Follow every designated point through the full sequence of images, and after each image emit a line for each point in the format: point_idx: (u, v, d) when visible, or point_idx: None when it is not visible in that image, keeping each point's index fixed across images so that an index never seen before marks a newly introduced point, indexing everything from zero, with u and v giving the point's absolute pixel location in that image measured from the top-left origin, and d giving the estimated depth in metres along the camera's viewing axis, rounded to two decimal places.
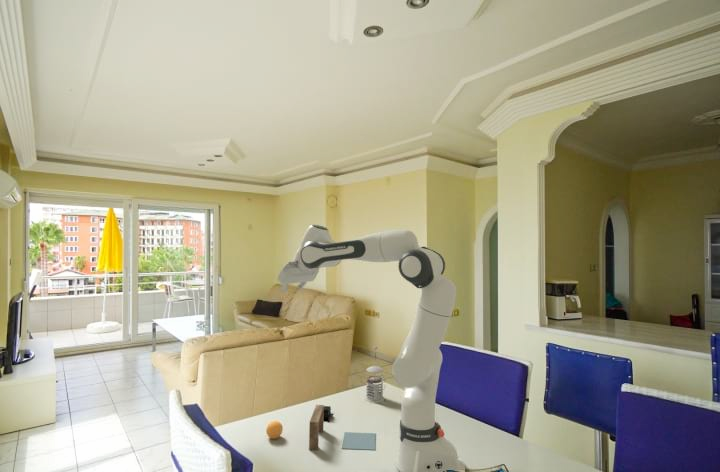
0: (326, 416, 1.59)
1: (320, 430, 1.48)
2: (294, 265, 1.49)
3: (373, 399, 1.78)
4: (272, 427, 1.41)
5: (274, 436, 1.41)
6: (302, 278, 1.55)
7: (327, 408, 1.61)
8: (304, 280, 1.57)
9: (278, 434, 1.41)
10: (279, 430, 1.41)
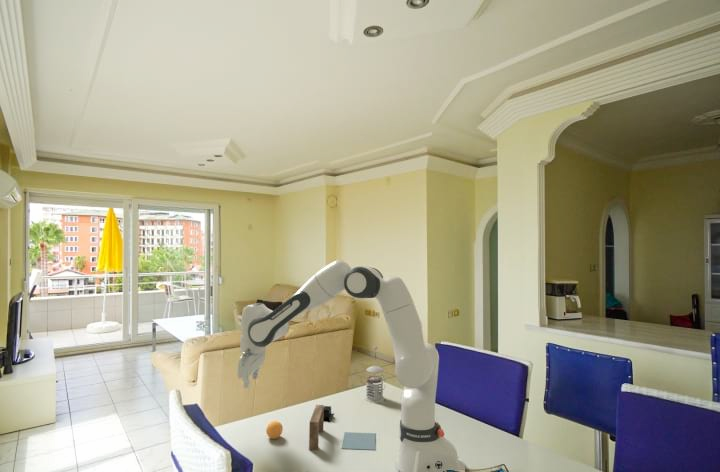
0: (327, 416, 1.59)
1: (320, 430, 1.48)
2: (248, 354, 1.39)
3: (373, 399, 1.78)
4: (272, 427, 1.41)
5: (274, 436, 1.41)
6: (257, 363, 1.46)
7: (328, 408, 1.61)
8: (258, 365, 1.48)
9: (278, 434, 1.41)
10: (279, 430, 1.41)
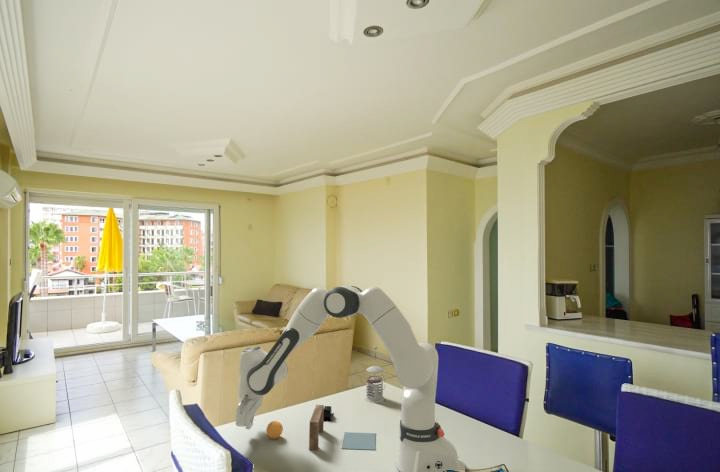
0: (328, 416, 1.59)
1: (320, 430, 1.48)
2: (246, 400, 1.39)
3: (373, 399, 1.78)
4: (272, 427, 1.41)
5: (274, 436, 1.41)
6: (255, 407, 1.45)
7: (328, 408, 1.61)
8: (256, 409, 1.47)
9: (278, 434, 1.41)
10: (279, 430, 1.41)
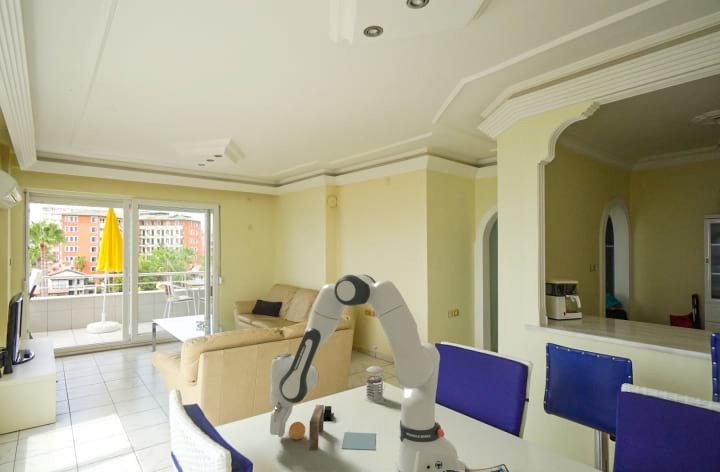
0: (328, 416, 1.59)
1: (320, 430, 1.48)
2: (279, 408, 1.38)
3: (373, 399, 1.78)
4: (298, 438, 1.40)
5: (292, 431, 1.40)
6: (287, 415, 1.44)
7: (329, 408, 1.61)
8: (288, 416, 1.46)
9: (290, 433, 1.41)
10: (291, 436, 1.41)
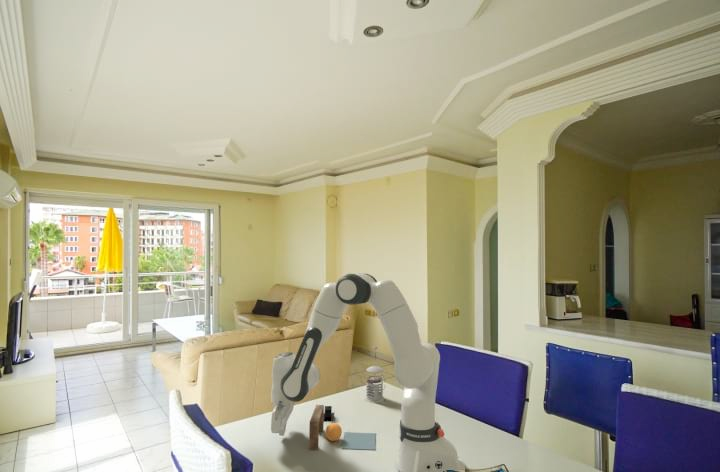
0: (329, 416, 1.59)
1: (320, 430, 1.48)
2: (280, 406, 1.38)
3: (373, 399, 1.78)
4: (336, 431, 1.40)
5: (330, 438, 1.40)
6: (288, 413, 1.44)
7: (329, 408, 1.61)
8: (289, 415, 1.46)
9: (334, 440, 1.40)
10: (337, 438, 1.40)
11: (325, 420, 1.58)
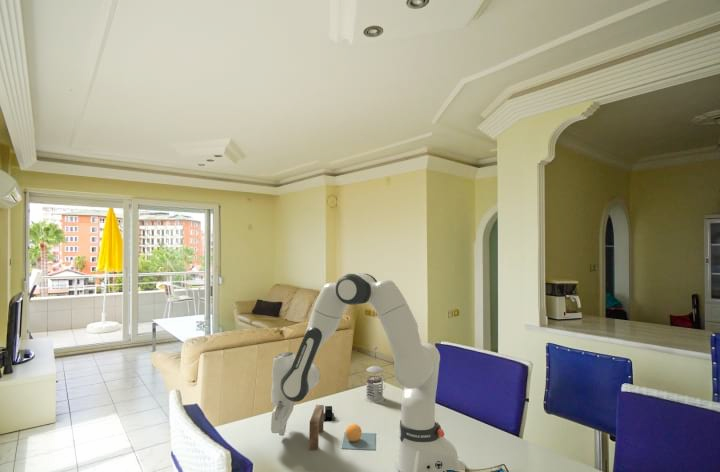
0: (330, 416, 1.60)
1: (320, 430, 1.48)
2: (280, 406, 1.38)
3: (373, 399, 1.78)
4: (352, 440, 1.40)
5: (352, 432, 1.39)
6: (288, 413, 1.44)
7: (330, 408, 1.61)
8: (289, 415, 1.46)
9: (348, 431, 1.40)
10: (346, 433, 1.40)
11: (326, 420, 1.58)
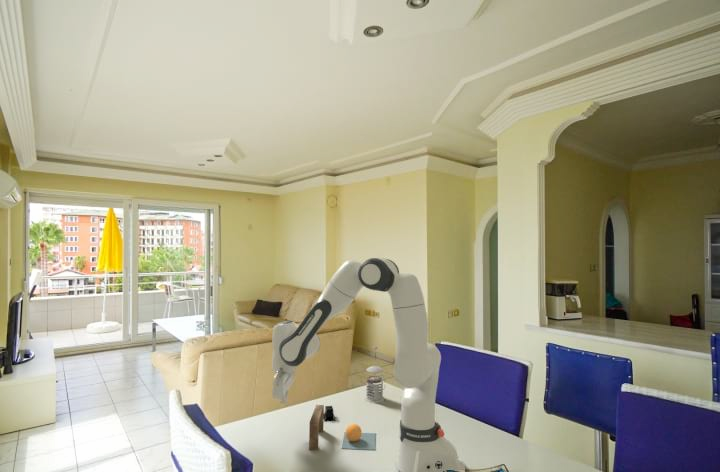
0: (331, 415, 1.60)
1: (320, 430, 1.48)
2: (281, 373, 1.38)
3: (373, 399, 1.78)
4: (352, 440, 1.40)
5: (352, 432, 1.39)
6: (289, 381, 1.45)
7: (330, 408, 1.61)
8: (290, 383, 1.46)
9: (348, 431, 1.40)
10: (346, 433, 1.40)
11: (327, 420, 1.58)
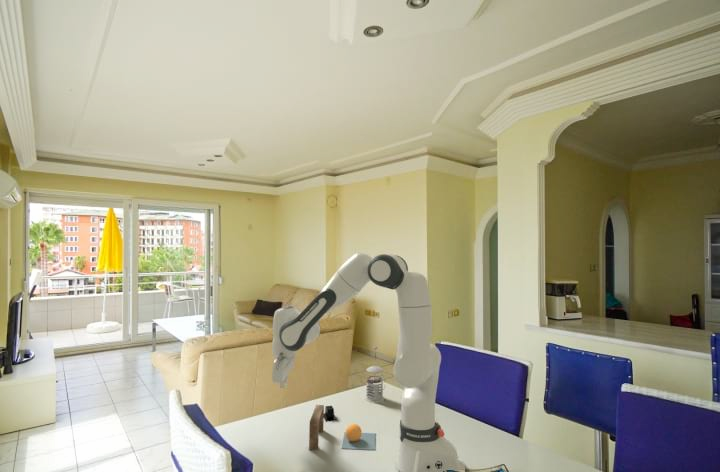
0: (332, 415, 1.60)
1: (320, 430, 1.48)
2: (281, 357, 1.38)
3: (373, 399, 1.78)
4: (352, 440, 1.40)
5: (352, 432, 1.39)
6: (289, 367, 1.45)
7: (331, 407, 1.62)
8: (290, 369, 1.47)
9: (348, 431, 1.40)
10: (346, 433, 1.40)
11: (328, 420, 1.58)
